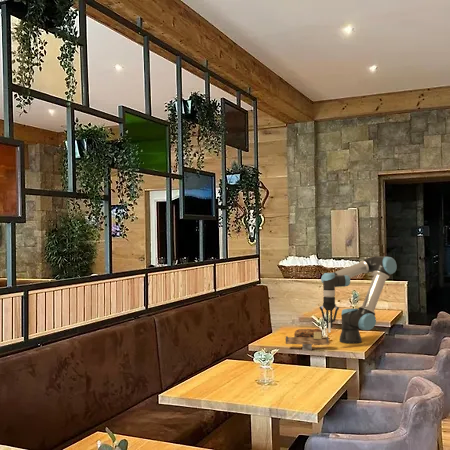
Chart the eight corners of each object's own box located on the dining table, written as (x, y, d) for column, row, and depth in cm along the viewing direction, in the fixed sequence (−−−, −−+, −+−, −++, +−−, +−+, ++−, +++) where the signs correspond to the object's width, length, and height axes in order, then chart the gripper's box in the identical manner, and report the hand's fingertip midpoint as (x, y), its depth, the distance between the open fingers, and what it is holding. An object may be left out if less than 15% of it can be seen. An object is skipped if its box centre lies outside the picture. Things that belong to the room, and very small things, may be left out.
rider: (321, 339, 367) (321, 331, 367) (321, 341, 361) (321, 333, 361) (313, 339, 368) (313, 331, 368) (313, 341, 362) (313, 333, 362)
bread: (322, 342, 387) (322, 328, 387) (321, 345, 377) (320, 330, 377) (296, 341, 393) (296, 327, 393) (293, 344, 383) (293, 329, 383)
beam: (328, 348, 367) (328, 336, 367) (328, 350, 360) (328, 339, 360) (286, 347, 372) (286, 336, 372) (285, 350, 364) (285, 338, 364)
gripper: (338, 295, 366) (339, 331, 366) (319, 295, 368) (319, 330, 368) (339, 297, 359) (339, 333, 359) (319, 296, 361) (319, 333, 361)
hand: (329, 332), depth 363 cm, fingers closed
